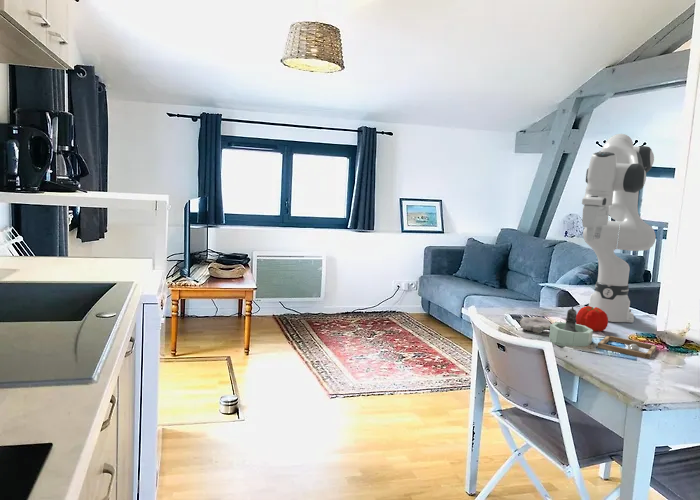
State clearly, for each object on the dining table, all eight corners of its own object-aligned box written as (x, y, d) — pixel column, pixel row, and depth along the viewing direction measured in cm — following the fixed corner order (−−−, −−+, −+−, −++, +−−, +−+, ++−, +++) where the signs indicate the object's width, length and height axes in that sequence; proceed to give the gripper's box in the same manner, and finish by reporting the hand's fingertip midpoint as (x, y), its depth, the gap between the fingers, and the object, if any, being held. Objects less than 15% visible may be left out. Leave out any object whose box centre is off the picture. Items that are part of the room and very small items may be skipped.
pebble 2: (639, 353, 179) (628, 350, 180) (640, 346, 177) (629, 343, 178) (637, 360, 177) (626, 357, 178) (639, 353, 175) (627, 350, 176)
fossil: (553, 327, 196) (527, 314, 197) (543, 343, 198) (518, 329, 199) (550, 319, 204) (525, 306, 205) (541, 334, 206) (516, 321, 207)
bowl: (556, 335, 197) (558, 320, 196) (593, 343, 189) (595, 327, 189) (545, 343, 187) (546, 327, 186) (583, 352, 180) (585, 335, 179)
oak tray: (606, 342, 192) (607, 335, 192) (655, 352, 183) (656, 345, 183) (596, 350, 182) (597, 343, 181) (648, 362, 173) (649, 354, 172)
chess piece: (555, 339, 188) (559, 304, 187) (570, 338, 190) (574, 304, 188) (566, 344, 183) (571, 309, 181) (582, 344, 184) (586, 308, 183)
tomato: (575, 325, 212) (578, 302, 211) (607, 330, 207) (610, 307, 206) (572, 331, 203) (575, 308, 202) (605, 337, 198) (608, 313, 197)
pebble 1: (638, 342, 179) (627, 341, 182) (636, 350, 178) (625, 350, 180) (641, 347, 181) (630, 346, 183) (639, 356, 180) (628, 355, 182)
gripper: (596, 198, 203) (591, 236, 205) (580, 199, 187) (576, 240, 189) (615, 200, 199) (610, 238, 201) (600, 200, 183) (595, 242, 185)
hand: (593, 239), depth 195 cm, fingers open, 8 cm apart
